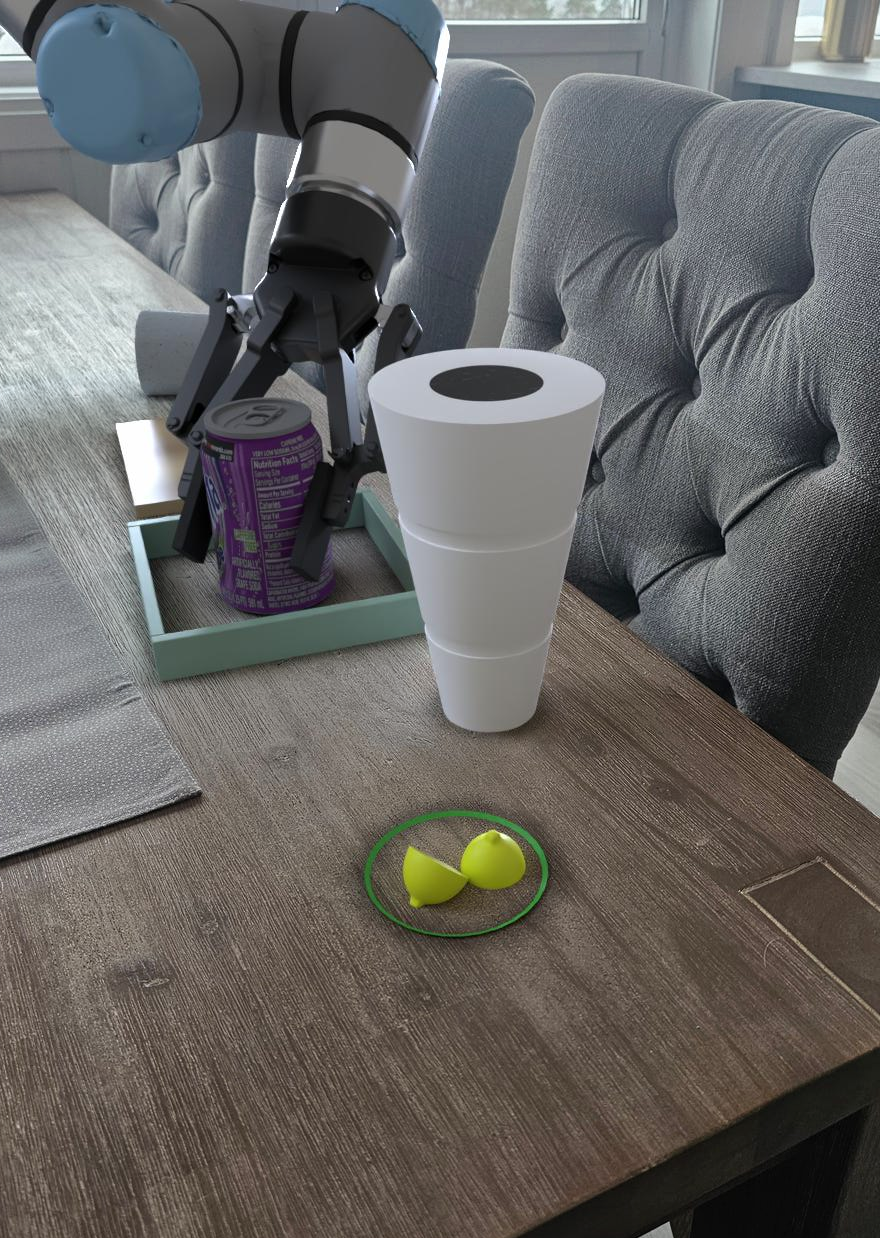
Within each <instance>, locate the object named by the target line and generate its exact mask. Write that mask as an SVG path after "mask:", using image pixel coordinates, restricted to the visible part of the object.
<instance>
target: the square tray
mask: <svg viewBox="0 0 880 1238" xmlns="http://www.w3.org/2000/svg"><path fill="white" fill-rule="evenodd" d="M180 515H181V514H176V515H169V516H164V517H162V516H161V517H156V518H155V517H154V518H149V519H142V520H135V521H129V522H126V529H127V534H128V539H129V544H130V548H131V554H132V559H133V563H134V564H133V565H134V568H135V574H136V578H137V583H138V588H139V592H140V597H141V601H142V607H143V613H144V617H145V620H146V626H147V630H148V634H149V639H150V644H151V649H152V654H153V658H154V664H155V668H156V673H157V677H158V682H159V683H163V682H167V681H173V680H178V679H183V678H189V677H194V676H199V675H205V674H210V673H215V672H222V671H225V670H231V669H237V668H238V669H239V668H243V667H247V666H253V665H257V664H258V665H260V664H264V663H269V662H274V661H279V660H280V661H281V660H286V659H290V658H297V657H302V656H307V655H312V654H317V653H324V652H329V651H334V650H339V649H344V648H349V647H355V646H361V645H365V644H371V643H377V642H381V641H387V640H393V639H398V638H404V637H408V636H414V635H419V634H426V633H425V622H424V620H423V618H422V615H421V611H420V607H419V602H418V598H417V594H416V590H415V586H414V582H413V578H412V573H411V569H410V565H409V561H408V557H407V553H406V548H405V544H404V540H403V536H402V532H401V529H400V528H399V527H398V525H397V524H396V522H395V521H394V520H393V518H392V517H391V515H390V514H389V512H388V511H387V510H386V508H385V507H384V505H383V504H382V502H381V501H380V499H379V498H378V497H377V494H375V492H374V491H373V490H372V488H371V487H370V486H367V487H360V488H357V490H356V494H355V498H354V502H353V504H352V509H351V513H350V517H349V520H348V522H347V523H346V525H345V526H344V528H341V527H334V526H333V530H332V531H337V530H343V529H350V528H356V527H363V526H364V528H365V529H366V531H367V532H368V534H369V535H370V538H371V539H372V540H373V542H374V544H375V545H376V547H377V548H378V549H379V550H378V551H380V553H381V555H382V556H383V558H384V559H385V561H387V562H386V563H387V564H388V566H389V567H390V568H391V570H392V572H393V573H394V575H395V576H396V578H397V579H398V581H399V583H400V584H401V586H402V587H403V589H404V590H405V591H404V592H399V593H394V594H388V595H387V594H386V595H382V596H376V597H370V598H365V599H358V600H352V601H348V602H342V603H336V604H331V605H325V606H319V607H314V608H306V609H302V610H299V611H295V612H290V613H284V614H272V615H267V616H261V617H257V618H250V619H245V620H244V619H243V620H239V621H233V622H228V623H224V624H223V623H221V624H217V625H211V626H204V627H199V628H194V629H188V630H182V631H176V632H170V633H166V631H165V627H164V624H163V623H164V622H163V619H162V614H161V610H160V606H159V602H158V598H157V597H158V596H157V593H156V589H155V584H154V580H153V576H152V572H151V567H150V563H149V560H153V559H158V558H164V557H165V558H167V557H170V556H179V555H181V554H180V553H179V552H177V551H176V550H174V549H173V548H171V546H172V542H173V539H174V536H175V532H176V529H177V526H178V522H179V519H180ZM210 550H215V546H214V540H213V534H212V538H211V541H210V544H209V548H208V551H210Z"/></svg>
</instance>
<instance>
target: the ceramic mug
mask: <svg viewBox="0 0 880 1238" xmlns="http://www.w3.org/2000/svg"><path fill="white" fill-rule="evenodd" d="M208 321H209V312H189V311H188V312H187V311H177V310H176V311H175V310H162V309H149V308H144V309H142V310H141V311H140V312H139V314H138V316H137V318H136V322H135V326H134V354H135V355H134V356H135V363H136V364H135V365H136V372H137V376H138V377H137V378H138V380H139V385H140V387H141V390H142V391H143V393H144V394H145V395H146V396H148V397H150V396H151V397H152V396H154V397H155V396H156V397H157V396H177V395H178V392H179V390H180V387H181V385H182V383H183V380H184V378H185V376H186V373H187V371H188V369H189V366H190V364H191V362H192V359H193V357H194V355H195V352H196V350H197V348H198V345H199V343H200V340H201V338H202V336H203V333H204V331H205V329H206V326H207V324H208ZM237 363H238V357H237V358H236V360H235V363H234V365H233V368H232V370H233V369H234V367H235V366H236V364H237ZM232 370H231V372H232ZM231 372H230V373H231Z"/></svg>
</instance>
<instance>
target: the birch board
mask: <svg viewBox="0 0 880 1238" xmlns="http://www.w3.org/2000/svg"><path fill="white" fill-rule="evenodd" d="M167 418H168V416H167V417H159V418H153V419H144V420H136V421H135V420H134V421H128V422H119V423H115V424H114V425H115V429H116V430H115V431H116V435H117V436H116V437H117V439H118V444H119V448H120V452H121V457H122V461H123V465H124V469H125V470H124V471H125V474H126V478H127V483H128V487H129V491H130V496H131V499H132V504H133V509H134V512H135V517H136V520H137V519H145V518H153V517H157V516H158V517H160V516H166V515H173V514H177V513H179V514H181V512H182V509H183V505H184V502H185V501H183V500H182V499H181V498H180V497H178V485H179V482H180V480H181V479H180V478H181V475H182V472H183V468H184V465H185V462H186V458H187V455H188V451H189V449H188V447H187V446H186V445H184V444H183V443H182V442H181V441H180V440H179V439H178V438H176V437H175V436H174V435H173V434H172V433H171V432H170V431H168V429H167V428H166V420H167Z"/></svg>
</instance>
